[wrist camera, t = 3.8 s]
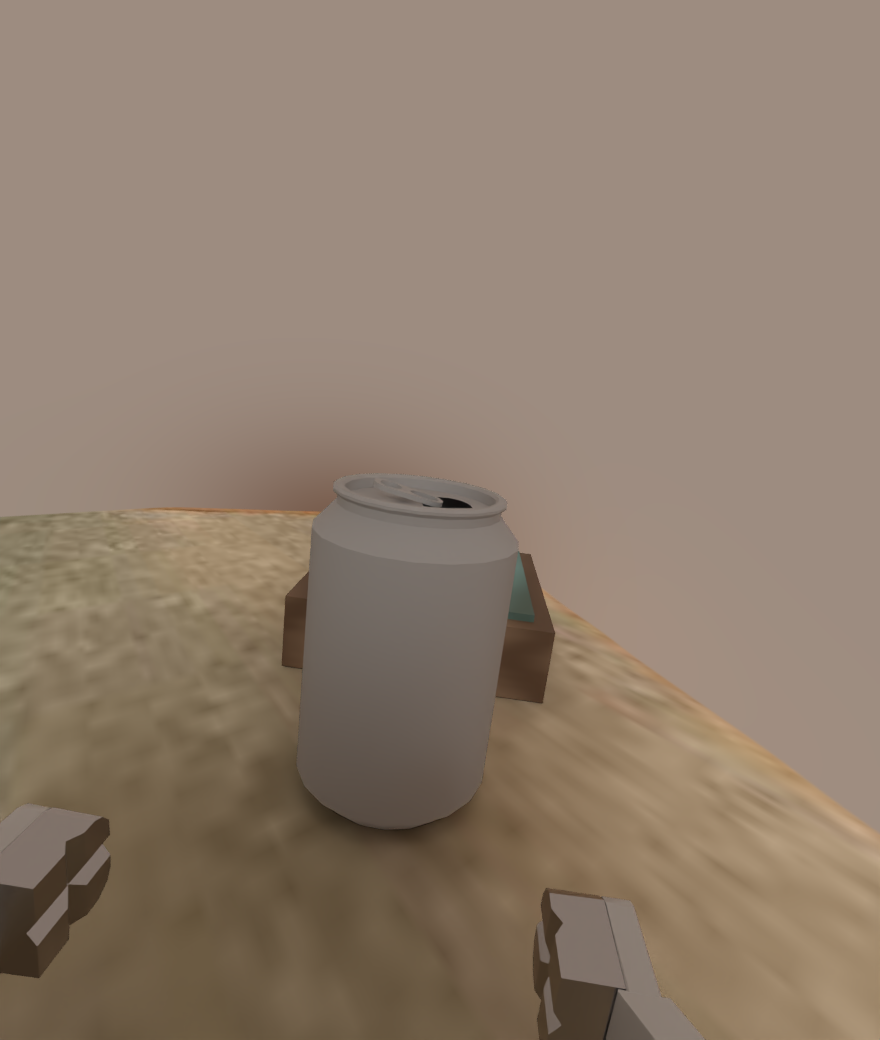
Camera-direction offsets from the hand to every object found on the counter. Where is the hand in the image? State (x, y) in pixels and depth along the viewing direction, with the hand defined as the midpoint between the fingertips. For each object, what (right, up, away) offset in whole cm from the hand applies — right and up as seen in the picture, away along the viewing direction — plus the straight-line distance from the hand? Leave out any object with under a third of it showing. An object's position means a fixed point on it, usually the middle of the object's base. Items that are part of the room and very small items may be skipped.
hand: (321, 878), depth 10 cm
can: (0, -4, +12) cm, 13 cm away
